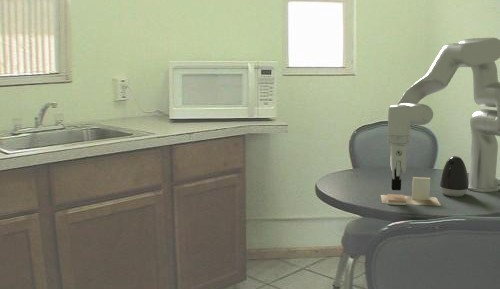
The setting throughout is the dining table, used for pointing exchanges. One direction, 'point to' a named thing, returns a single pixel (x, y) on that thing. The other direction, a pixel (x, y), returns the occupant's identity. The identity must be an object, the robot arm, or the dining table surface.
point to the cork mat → (416, 201)
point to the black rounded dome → (454, 177)
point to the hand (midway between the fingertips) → (396, 189)
